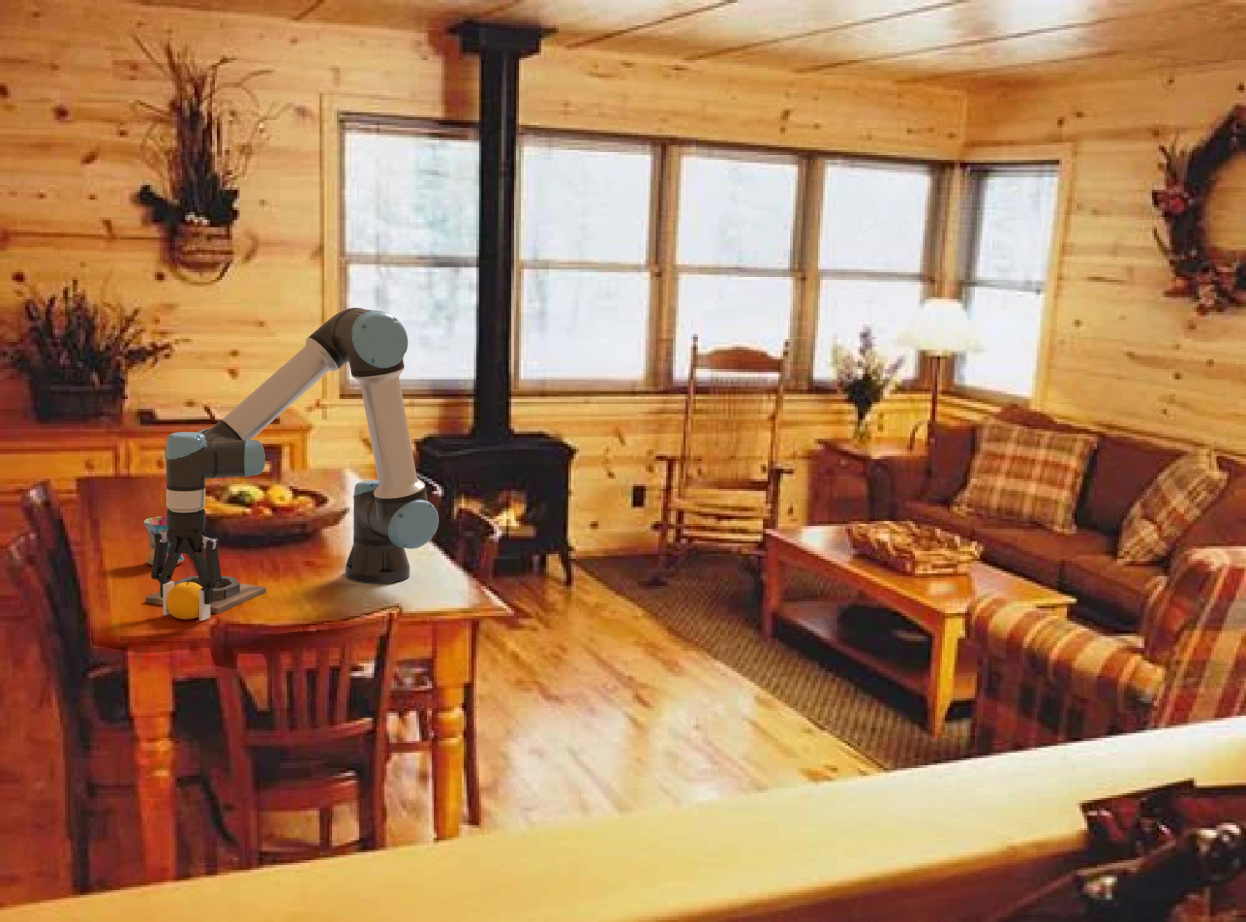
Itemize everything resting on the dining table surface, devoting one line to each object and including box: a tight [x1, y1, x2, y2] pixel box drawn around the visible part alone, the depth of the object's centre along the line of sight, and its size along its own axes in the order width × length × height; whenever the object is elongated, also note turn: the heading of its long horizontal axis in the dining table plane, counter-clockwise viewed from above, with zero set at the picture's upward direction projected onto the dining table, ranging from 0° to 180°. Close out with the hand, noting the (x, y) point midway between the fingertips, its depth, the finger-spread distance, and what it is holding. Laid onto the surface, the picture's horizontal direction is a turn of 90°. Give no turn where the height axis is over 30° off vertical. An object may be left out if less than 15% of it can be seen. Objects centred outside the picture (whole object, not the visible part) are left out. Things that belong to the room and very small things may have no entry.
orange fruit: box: [167, 582, 202, 620], centre depth 255 cm, size 8×8×8 cm
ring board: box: [144, 575, 267, 615], centre depth 270 cm, size 18×18×3 cm
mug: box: [143, 515, 185, 566], centre depth 295 cm, size 12×9×11 cm
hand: (186, 615), depth 256 cm, fingers closed on orange fruit, 8 cm apart
